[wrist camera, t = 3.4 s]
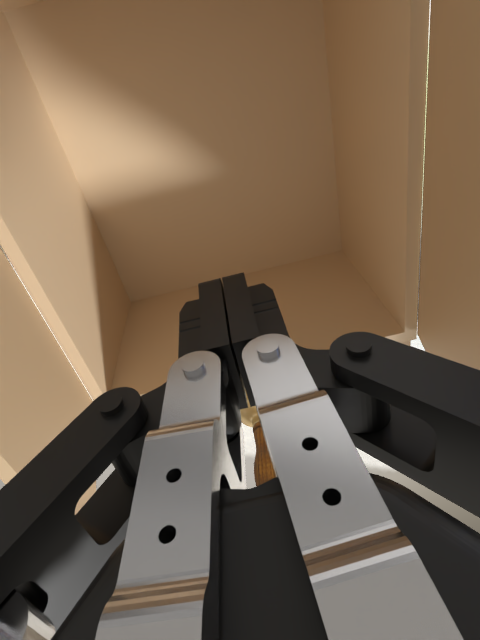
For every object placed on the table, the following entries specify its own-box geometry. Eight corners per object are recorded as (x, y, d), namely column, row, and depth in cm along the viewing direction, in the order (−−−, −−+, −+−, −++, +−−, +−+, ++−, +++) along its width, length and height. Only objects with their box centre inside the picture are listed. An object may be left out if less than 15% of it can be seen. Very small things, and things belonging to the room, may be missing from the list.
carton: (323, -105, 25) (438, -235, 14) (348, 258, 39) (416, 345, 28) (-17, -12, 26) (-182, -60, 14) (128, 311, 40) (104, 419, 28)
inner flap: (483, 474, 18) (497, 473, 18) (685, -496, 6) (737, -518, 6) (417, 333, 27) (427, 332, 27) (438, -184, 14) (457, -190, 14)
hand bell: (250, 414, 50) (272, 546, 37) (201, 381, 46) (206, 514, 33) (302, 376, 47) (347, 503, 34) (255, 337, 43) (285, 463, 30)
